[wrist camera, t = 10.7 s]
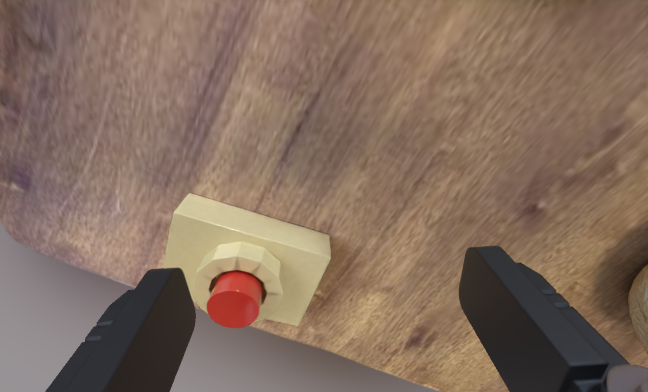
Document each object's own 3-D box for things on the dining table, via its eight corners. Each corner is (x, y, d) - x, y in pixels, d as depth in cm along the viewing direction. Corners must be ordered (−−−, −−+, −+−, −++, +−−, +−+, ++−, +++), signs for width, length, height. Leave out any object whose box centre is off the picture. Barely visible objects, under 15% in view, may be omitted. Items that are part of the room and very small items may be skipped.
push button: (210, 300, 24) (201, 321, 22) (220, 264, 22) (212, 284, 20) (256, 311, 24) (251, 332, 23) (269, 277, 23) (265, 297, 21)
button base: (172, 267, 28) (146, 311, 24) (188, 192, 25) (162, 225, 20) (299, 300, 30) (297, 344, 26) (329, 234, 27) (333, 273, 23)
